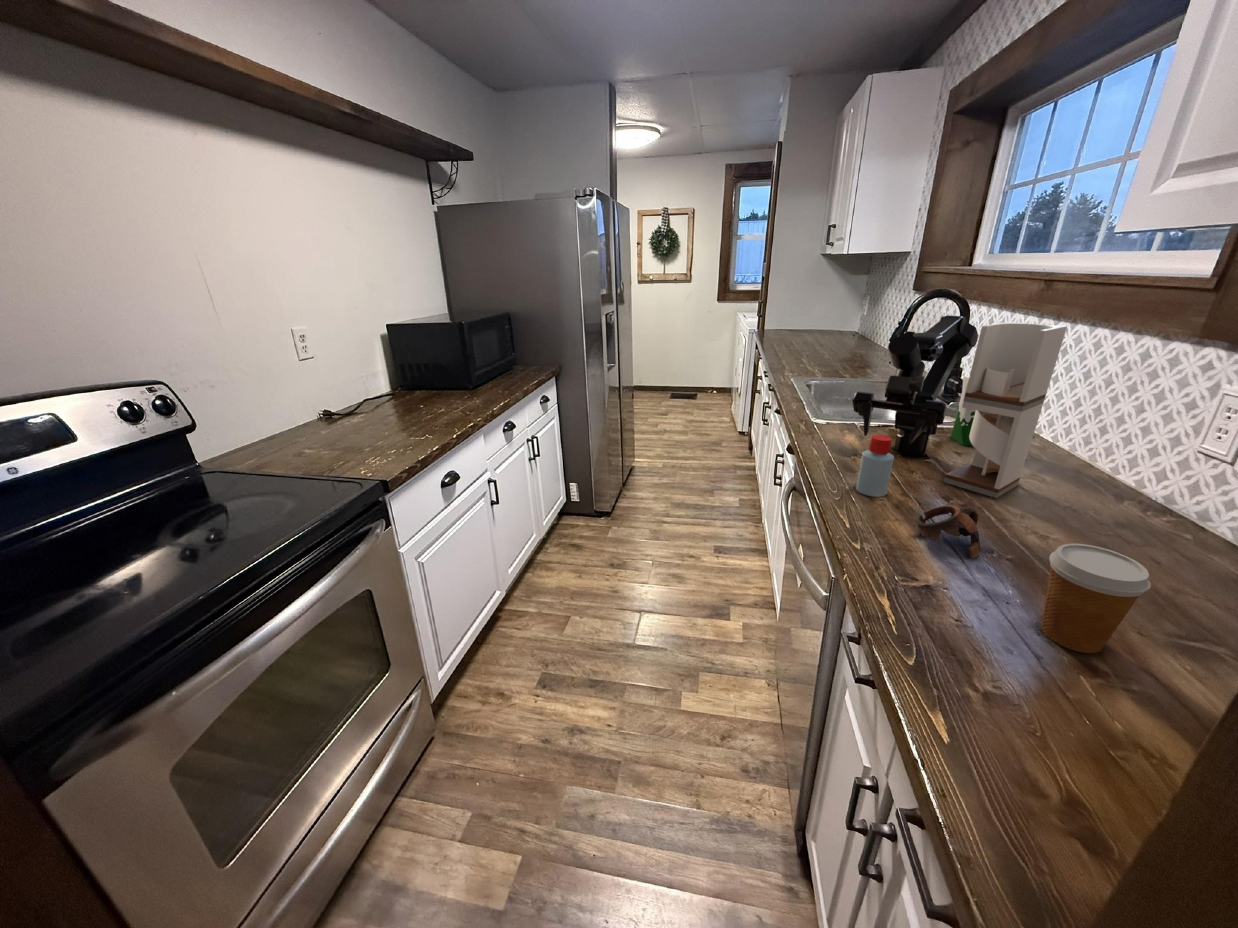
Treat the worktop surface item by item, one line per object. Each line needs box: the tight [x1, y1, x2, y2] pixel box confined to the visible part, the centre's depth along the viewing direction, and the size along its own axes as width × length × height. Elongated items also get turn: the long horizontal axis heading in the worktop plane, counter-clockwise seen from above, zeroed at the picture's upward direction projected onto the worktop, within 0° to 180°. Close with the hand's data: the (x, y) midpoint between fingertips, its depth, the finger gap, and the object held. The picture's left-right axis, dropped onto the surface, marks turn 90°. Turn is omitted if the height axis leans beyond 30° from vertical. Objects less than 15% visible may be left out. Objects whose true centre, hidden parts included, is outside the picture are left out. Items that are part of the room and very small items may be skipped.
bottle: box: [855, 449, 895, 498], centre depth 108 cm, size 6×6×12 cm
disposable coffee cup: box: [1040, 543, 1152, 654], centre depth 64 cm, size 10×10×12 cm
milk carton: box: [949, 375, 976, 447], centre depth 135 cm, size 9×9×20 cm
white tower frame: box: [942, 321, 1068, 499], centre depth 106 cm, size 11×11×35 cm
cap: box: [868, 434, 893, 454], centre depth 106 cm, size 4×4×3 cm
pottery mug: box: [915, 504, 982, 560], centre depth 89 cm, size 12×10×8 cm
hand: (886, 438), depth 112 cm, fingers open, 9 cm apart
